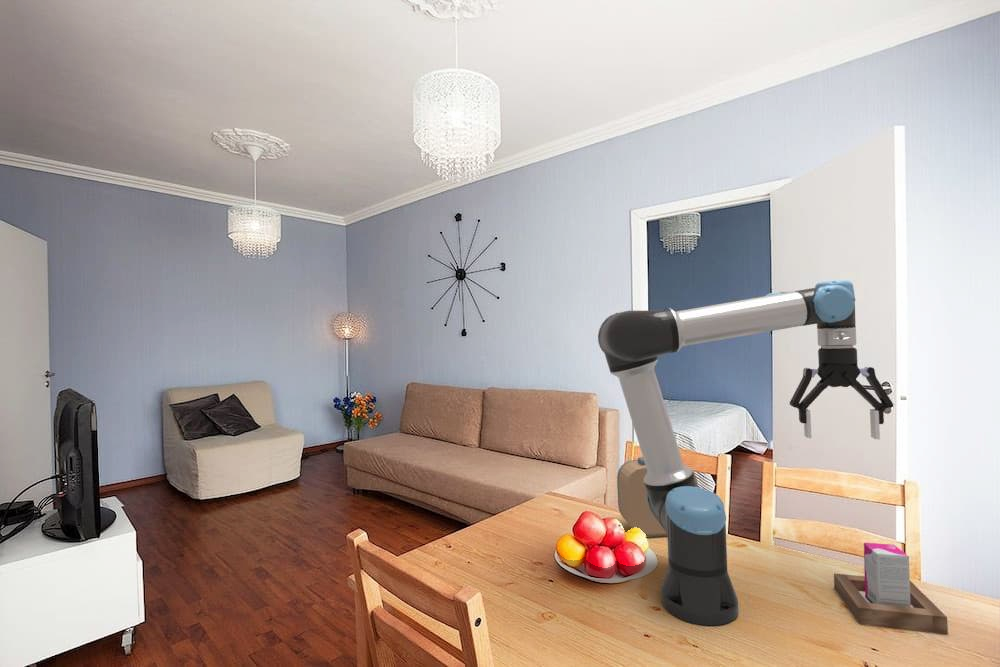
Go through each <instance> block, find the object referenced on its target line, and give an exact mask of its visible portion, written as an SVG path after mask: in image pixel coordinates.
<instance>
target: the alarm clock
mask: <svg viewBox="0 0 1000 667" xmlns="http://www.w3.org/2000/svg"><path fill="white" fill-rule="evenodd" d="M646 473H647V468H646V465H645V462H644V459H643V456H639V457H637V459H633V460H628V461H625V462H624V463H623V464H621V466H620V467H619V469H618V471H617V478H616V480H617V486H616V487H617V505H618V511H619V513H620V515H621V517H622V518H623V519H624V520H625V521H626V523H627V525H629V526H630V528H631V529H633V528H634V527H637V528H640V529H641V530H642V531H643V532H644V533H645V534H646V536H647V537H646V538H657V537H660V538H661V537H667V533H666V532H665V530H664V529H663V527H662V526H661V524H660V523H659V521H658V520H657V519H656V518H655V517H654V515H653V514H652V512H651V510H650V508H649V505H648V500H647V490H646V487H645V483H644V477H645V475H646ZM693 474H694V478H695V481H696V484H697V487H699V486H698V479H697V477H696V474H695V472H694V471H693Z"/></svg>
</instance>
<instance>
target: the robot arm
mask: <svg viewBox="0 0 1000 667" xmlns="http://www.w3.org/2000/svg"><path fill="white" fill-rule="evenodd" d="M810 325H816V330H817V331H816V332H817V334H816V335H817V345H818V346H819V349H817V352H818V353H817V355H818V356H817V357H818V367H817V369H816V368H810V367H805V368H804V369H803V371H802V373H803V374H802V378H801V380H800V382H799V384H798V386H797V388H796V389H795V391H794V393H793V396H792V397H791V399H790V401H789V405H790V407H793V408H795V409H797V410H798V421H799V423H801V424H803V431H804V432H803V433H804V437H805V438H807V439H812V424H811V423H812V418H811V410H810V409H808V408H809V407H810V406H811V404H812V403H813V402H814V401H815V400H816V399H817V398H818V397H819V396H820V395H821V394H822V392H824V391H825V390H826V389H827V388H828V387H831V388H837V387H843V388H848V387H851V388H853V389H854V390H855V391H856V392H857V393H858V394H859V395H860V397H862V398H863V399H864V400H866V401H867V403H869V404H870V405H871V407H873V408H869V416H870V417H869V418H870V420H869V421H870V437H871V438H872V439H874V440H881V435H880V434H881V432H880V430H881V429H880V425H884V423H885V416H884V412H885V411H886V409H889V408H891V409H892V408H893V407H894V403H893V402H892V400H891V398H890V397H889V395H888V394H887V392H886V390H885V389H884V387H883V385H882V384H881V382H880V381H879V379H878V378H877V376H876V371H875V368H874V367H873V366H872V367H871V366H865V367H862V368H861V367H860V368H859V365H858V349H857V348H856V347H854V346H856V345H857V330H856V295H855V290H854V285H853V282H852V281H849V280H829V281H822V282H817V283H815V286H814V287H813V288H806V289H799V290H794V291H778V292H770V293H768V294H765V295H764V296H759V297H753V298H748V299H741V300H736V301H730V302H724V303H718V304H712V305H708V306H707V305H706V306H702V307H695V308H689V309H684V310H678V311H675V310H673V308H671V307H667V308H662V309H661V308H660V309H653V310H651V309H650V310H624V311H620V312H615V313H614V314H611V315H609V316H608V317H607V318H605V320H604V321H602V323H601V325H600V327H599V330H598V334H597V342H598V346H599V348H600V349H601V351H602V353H603V354H604V356H605V360H606V363H607V366H608V368H609V372H610V374H611V375H613V376H615V377H617V378H618V381H619V384H620V387H621V390H622V393H623V397H624V400H625V403H626V406H627V410H628V413H629V416H630V420H631V423H632V426H633V429H634V433H635V436H636V439H637V442H638V445H639V449H640V452H641V455H642V457H643V459H644V462H645V465H646V468H647V473H646V475H645V477H644V483H645V487H646V490H647V500H648V505H649V508H650V510H651V512H652V514H653V515H654V517H655V518H656V519H657V520H658V521H659V523H660V524H661V526H662V527H663V529H664V530H665V532H666V533H667V536H666V538H667V554H668V555H667V557H668V565H667V569H666V572H665V576H664V579H663V582H662V586H661V592H660V593H661V602H662V606H663V607H664V609H665V610H667V612H669V614H671V615H673V616H674V617H676V618H678V619H680V620H683V621H686V622H688V623H692V624H697V625H703V626H719V625H721V626H723V625H725V624H729V623H731V622H733V621H734V620H735V619H737V617H738V616H739V601H738V600H739V599H738V597H737V593H736V591H735V589H734V586H733V583H732V581H731V577H730V575H729V572H728V551H727V550H728V549H727V548H728V547H727V527H726V524H727V523H726V522H727V512H726V510H725V505H724V502H723V500H722V498H720V496H719V495H718V494H717V493H715V492H713V491H711V490H709V489H707V490H706V489H705V488H702V487H699V486H698V487H697V484H698V483H697V484H696V481H695V478H694V474H695V473H694V474H693V472H694V471H693V469H692V468H691V467H690V466H689V465H686V464H685V463H684V462H683V459H682V455H681V453H680V452H681V451H680V448H679V446H678V441H677V439H676V436H675V432H674V430H673V426H672V423H671V420H670V416H669V414H668V410H667V407H666V404H665V400H664V397H663V394H662V391H661V390H662V389H661V388H660V383H659V380H658V378H657V374H656V371H655V366H656V365H657V363H658V362H659V359H658V356H659V357H660V356H663V355H667V354H668V355H669V354H671V353H678V352H679V351H680V350H681V348H682V347H686V346H691V345H697V344H703V343H709V342H715V341H721V340H726V339H733V338H739V337H745V336H750V335H756V334H761V333H767V332H773V331H780V330H786V329H790V328H791V329H792V328H797V327H804V326H805V327H806V326H810ZM816 375H818V377H819V378H820V380H819V381H818V382H817V383H816V384H815V386H814V387H813V388H812V389H811V390H810V392H808V393H807V394H806V396H805V397H804V395H805V392H806V391H807V388H809V385H810V383H811V381H812V379H813V378H814V377H815V376H816ZM860 375H862V377H864V378H865V379H866V380H867V383H868V384H869V385H870V387H871V388H872V390H873V391H874V393H875V395H876V396H877V398H878V399H879V400H878V399H876V398H875V397H874V395H872V394H871V393H870V391H868V389H866V388H865V387H864V386H863V385H862V384H861V383H860V381H858V380H857V378H858V377H859V376H860ZM803 397H804V398H803Z"/></svg>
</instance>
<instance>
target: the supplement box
mask: <svg viewBox="0 0 1000 667" xmlns="http://www.w3.org/2000/svg"><path fill="white" fill-rule="evenodd" d="M863 557H864V558H863V559H864V560H863V562H864V563H863V564H864V567H863V568H864V576H865V597H866V598H867V599H868V600H869V601H870V602H871V603H874V604H883V605H893V606H902V607H911V605H910V581H911V579H910V578H911V577H910V556H909V555H908V554H907V553H906V552H904V550H903V551H902V550H901V548H899V547H898V546H896V545H895V544H889V543H874V542H863Z"/></svg>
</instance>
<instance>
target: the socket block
mask: <svg viewBox="0 0 1000 667" xmlns="http://www.w3.org/2000/svg"><path fill="white" fill-rule="evenodd" d="M833 583H834V586H833V587H834V589H835V591H836V593H837V594H838V595H839V598H841V600H842V601H843V603H845V605H846V606H847V608H848V610H849V611H850V613H851V614H852V616H853V617H854V618H855V620H856V621H857V623H858V624H859V625H866V626H874V627H882V628H890V629H899V630H906V631H907V630H908V631H916V632H924V633H932V634H942V635H949V633H948V632H949V631H948V630H949V629H948V616H947V615H946V614H944V613H943V611H942V610H940V609H939V607H938V606H937V605H935V603H933V601H931V600H930V599H929V597H927V596H926V595H925V594H924V593H923V592H922V591H921V590H920V588H918V587H917V586H916V585H915V584H914V583H913V582H912V580H910V605H911V607H902V606H893V605H883V604H874V603H871V602H870V601H869V600H868V599H867V598H866V597H865V575H854V574H844V573H843V574H842V573H833Z"/></svg>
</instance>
